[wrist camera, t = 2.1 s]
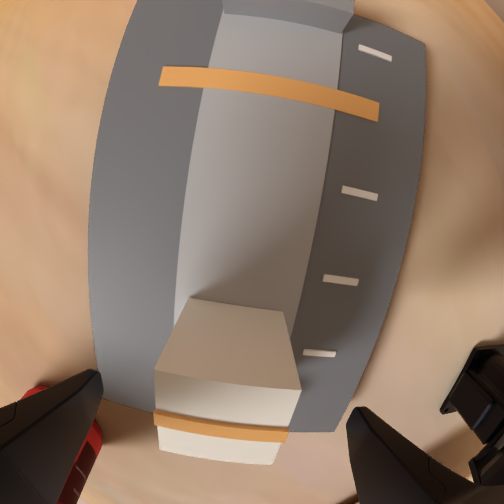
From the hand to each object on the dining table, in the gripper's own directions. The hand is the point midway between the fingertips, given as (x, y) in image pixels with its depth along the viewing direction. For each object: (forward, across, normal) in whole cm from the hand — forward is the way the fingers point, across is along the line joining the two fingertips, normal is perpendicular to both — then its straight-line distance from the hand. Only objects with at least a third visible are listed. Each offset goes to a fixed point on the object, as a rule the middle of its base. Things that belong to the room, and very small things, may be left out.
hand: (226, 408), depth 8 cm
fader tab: (+4, 0, 0) cm, 4 cm away
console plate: (+6, 0, -5) cm, 8 cm away
